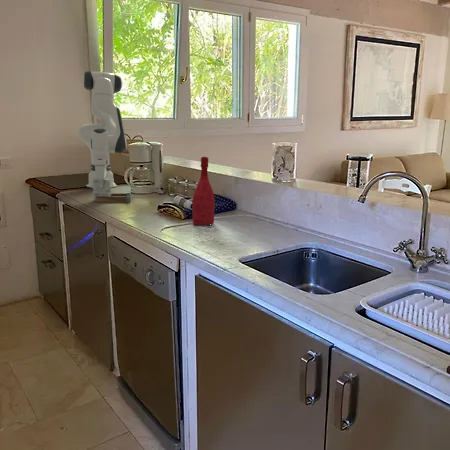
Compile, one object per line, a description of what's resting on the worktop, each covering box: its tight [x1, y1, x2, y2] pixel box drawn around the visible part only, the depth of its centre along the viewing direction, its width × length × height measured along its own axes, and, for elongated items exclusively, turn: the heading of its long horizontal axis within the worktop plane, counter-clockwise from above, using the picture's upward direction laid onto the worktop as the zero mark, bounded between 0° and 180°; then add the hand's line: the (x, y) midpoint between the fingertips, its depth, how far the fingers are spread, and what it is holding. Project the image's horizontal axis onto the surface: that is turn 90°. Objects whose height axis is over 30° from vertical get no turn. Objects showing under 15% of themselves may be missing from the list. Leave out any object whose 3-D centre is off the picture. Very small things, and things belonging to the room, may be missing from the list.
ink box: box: [92, 178, 112, 202], centre depth 250 cm, size 9×5×12 cm, turn 84°
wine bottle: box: [192, 156, 216, 226], centre depth 203 cm, size 10×10×30 cm
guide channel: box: [95, 189, 132, 203], centre depth 252 cm, size 10×18×5 cm, turn 100°
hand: (102, 186), depth 249 cm, fingers closed on ink box, 5 cm apart
